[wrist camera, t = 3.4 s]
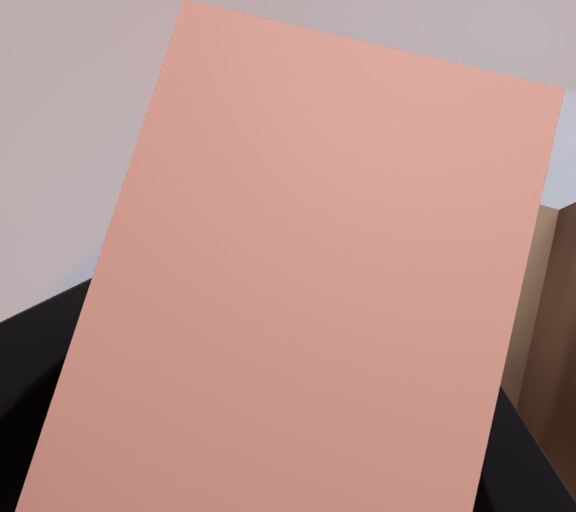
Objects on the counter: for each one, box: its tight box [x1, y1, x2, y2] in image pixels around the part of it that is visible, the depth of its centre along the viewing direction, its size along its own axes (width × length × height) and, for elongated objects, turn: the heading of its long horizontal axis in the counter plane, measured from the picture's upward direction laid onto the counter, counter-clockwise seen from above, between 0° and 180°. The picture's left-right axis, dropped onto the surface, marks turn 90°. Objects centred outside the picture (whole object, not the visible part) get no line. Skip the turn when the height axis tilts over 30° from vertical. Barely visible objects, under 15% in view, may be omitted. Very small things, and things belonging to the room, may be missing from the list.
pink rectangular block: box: [15, 0, 565, 512], centre depth 10 cm, size 8×4×10 cm, turn 164°
